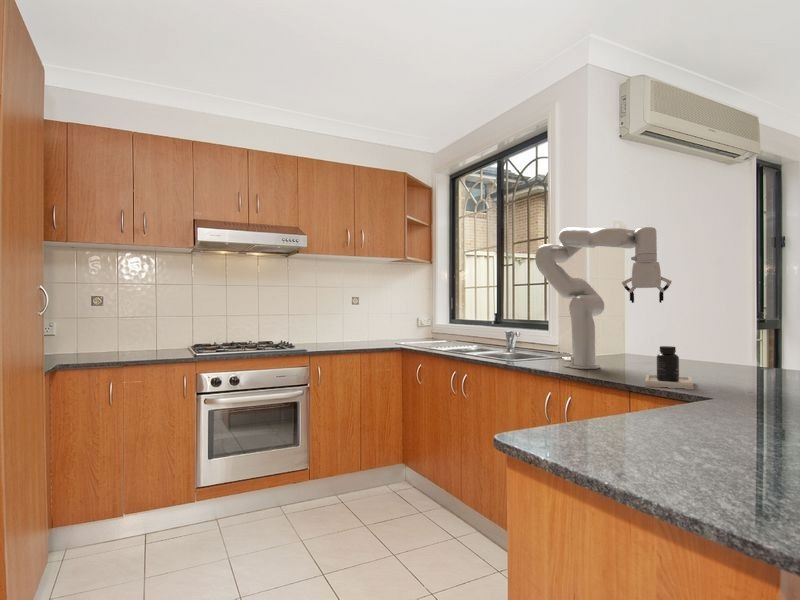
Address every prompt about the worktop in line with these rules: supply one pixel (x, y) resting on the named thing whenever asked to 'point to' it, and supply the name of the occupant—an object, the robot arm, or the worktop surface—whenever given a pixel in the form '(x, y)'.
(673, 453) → the worktop surface
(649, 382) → the dish
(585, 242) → the robot arm
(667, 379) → the supplement bottle
